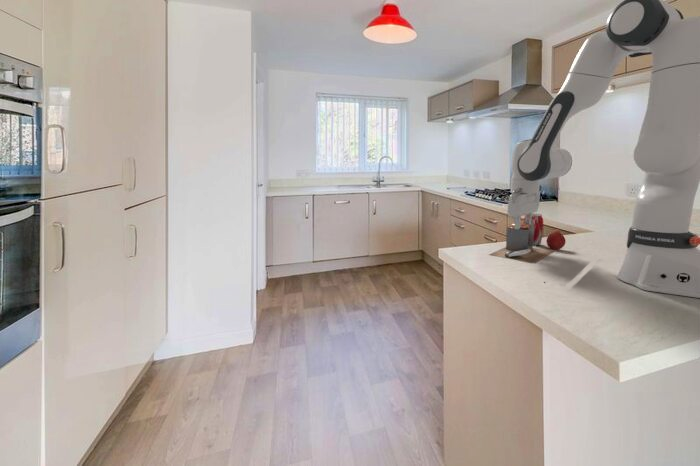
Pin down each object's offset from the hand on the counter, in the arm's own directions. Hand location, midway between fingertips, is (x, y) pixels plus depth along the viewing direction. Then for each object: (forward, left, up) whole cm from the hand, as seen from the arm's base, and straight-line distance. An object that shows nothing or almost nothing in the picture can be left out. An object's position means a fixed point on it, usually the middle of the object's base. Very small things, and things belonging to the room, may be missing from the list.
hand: (522, 227), depth 122 cm
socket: (+1, 0, -9) cm, 9 cm away
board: (-2, +4, -9) cm, 11 cm away
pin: (+1, 0, -8) cm, 8 cm away
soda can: (+2, -16, -10) cm, 19 cm away
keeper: (-3, +11, -7) cm, 14 cm away
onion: (-8, -10, -10) cm, 16 cm away
